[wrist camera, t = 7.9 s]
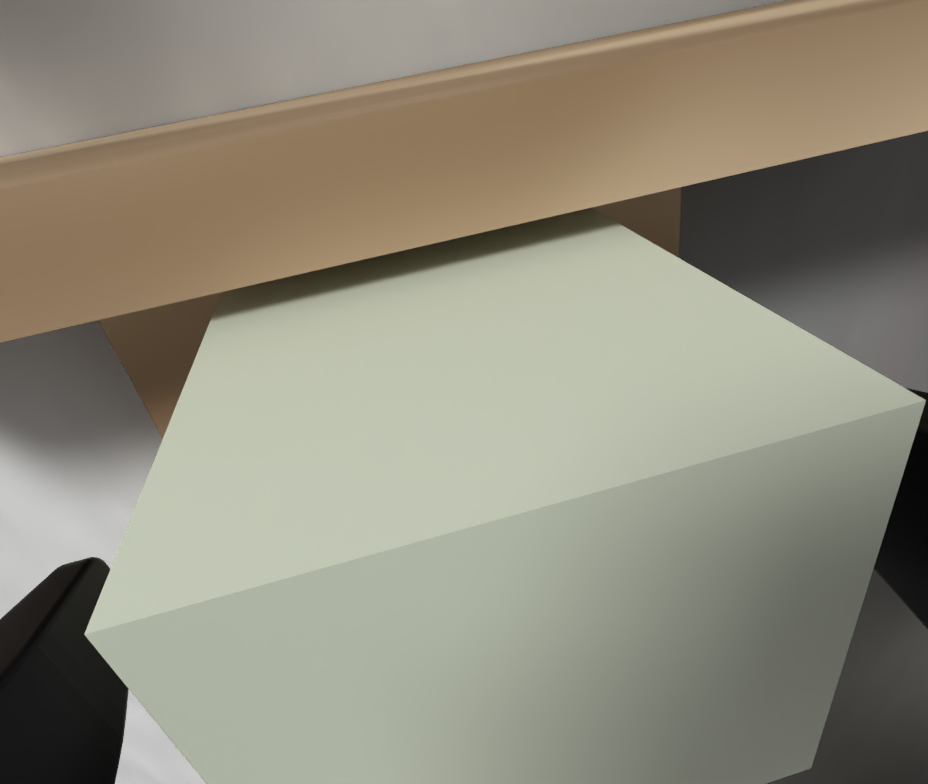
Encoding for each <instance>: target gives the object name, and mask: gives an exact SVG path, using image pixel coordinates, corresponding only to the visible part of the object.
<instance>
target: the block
mask: <svg viewBox="0 0 928 784" xmlns="http://www.w3.org/2000/svg"><path fill="white" fill-rule="evenodd" d="M925 402H926V400H925V399H923V398H921V397H919V396H918V395H916V394H914V393H913V392H911V391H909V390H907V389H906V388H904V387H902V386H900V385H899V384H897V383H895V382H893V381H892V380H890V379H888V378H886V377H885V376H883V375H881V374H880V373H878V372H876V371H874V370H873V369H871V368H869V367H867V366H866V365H864V364H862V363H860V362H859V361H857V360H855V359H853V358H852V357H850V356H848V355H846V354H845V353H843V352H841V351H840V350H838V349H836V348H834V347H833V346H831V345H829V344H827V343H826V342H824V341H822V340H820V339H819V338H817V337H815V336H813V335H812V334H810V333H808V332H807V331H805V330H803V329H801V328H800V327H798V326H796V325H794V324H793V323H791V322H789V321H787V320H786V319H784V318H782V317H780V316H779V315H777V314H775V313H773V312H772V311H770V310H768V309H767V308H765V307H763V306H761V305H760V304H758V303H756V302H754V301H753V300H751V299H749V298H747V297H746V296H744V295H742V294H740V293H739V292H737V291H735V290H734V289H732V288H730V287H728V286H727V285H725V284H723V283H721V282H720V281H718V280H716V279H714V278H713V277H711V276H709V275H707V274H706V273H704V272H702V271H701V270H699V269H697V268H695V267H694V266H692V265H690V264H688V263H687V262H685V261H683V260H681V259H680V258H678V257H676V256H674V255H673V254H671V253H669V252H667V251H666V250H664V249H662V248H661V247H659V246H657V245H655V244H654V243H652V242H650V241H648V240H647V239H645V238H643V237H641V236H640V235H638V234H636V233H634V232H633V231H631V230H629V229H628V228H626V227H624V226H622V225H621V224H619V223H617V222H615V221H614V220H612V219H610V218H608V217H607V216H605V215H603V214H601V213H600V212H598V211H596V210H595V209H593V208H587V209H583V210H578V211H574V212H570V213H565V214H561V215H557V216H552V217H548V218H543V219H539V220H535V221H530V222H526V223H522V224H517V225H513V226H508V227H504V228H500V229H495V230H491V231H487V232H482V233H478V234H473V235H469V236H465V237H460V238H456V239H452V240H447V241H443V242H438V243H434V244H430V245H425V246H421V247H416V248H412V249H408V250H403V251H399V252H395V253H390V254H386V255H381V256H377V257H373V258H368V259H364V260H360V261H355V262H351V263H346V264H342V265H338V266H333V267H329V268H325V269H320V270H316V271H311V272H307V273H303V274H298V275H294V276H290V277H285V278H281V279H276V280H272V281H268V282H263V283H259V284H255V285H250V286H246V287H241V288H237V289H233V290H228V291H224V292H222V293H221V295H220V298H219V300H218V303H217V305H216V308H215V310H214V313H213V315H212V318H211V320H210V323H209V325H208V328H207V330H206V333H205V335H204V338H203V340H202V343H201V345H200V348H199V350H198V352H197V355H196V357H195V360H194V362H193V365H192V367H191V370H190V372H189V375H188V377H187V380H186V382H185V385H184V387H183V390H182V392H181V395H180V397H179V400H178V402H177V405H176V407H175V410H174V412H173V415H172V417H171V420H170V422H169V425H168V427H167V430H166V432H165V435H164V437H163V440H162V442H161V445H160V447H159V450H158V452H157V455H156V457H155V460H154V462H153V464H152V467H151V469H150V472H149V474H148V477H147V479H146V482H145V484H144V487H143V489H142V492H141V494H140V497H139V499H138V502H137V504H136V507H135V509H134V512H133V514H132V517H131V519H130V522H129V524H128V527H127V529H126V532H125V534H124V537H123V539H122V542H121V544H120V547H119V549H118V552H117V554H116V557H115V559H114V562H113V564H112V567H111V569H110V572H109V574H108V576H107V579H106V581H105V584H104V586H103V589H102V591H101V594H100V596H99V599H98V601H97V604H96V606H95V609H94V611H93V614H92V616H91V619H90V621H89V624H88V626H87V629H86V631H85V634H84V635H85V636H86V637H87V639H88V640H89V641H90V642H91V643H92V645H93V646H94V647H95V648H96V650H97V651H98V652H99V653H100V654H101V656H102V657H103V658H104V659H105V661H106V662H107V663H108V664H109V665H110V667H111V668H112V669H113V670H114V672H115V673H116V674H117V675H118V676H119V678H120V679H121V680H122V681H123V683H124V684H125V685H126V686H127V687H128V689H129V690H130V691H131V692H132V694H133V695H134V696H135V697H136V698H137V700H138V701H139V702H140V703H141V705H142V706H143V707H144V708H145V709H146V711H147V712H148V713H149V714H150V716H151V717H152V718H153V719H154V720H155V722H156V723H157V724H158V725H159V727H160V728H161V729H162V730H163V731H164V733H165V734H166V735H167V736H168V738H169V739H170V740H171V741H172V742H173V744H174V745H175V746H176V747H177V749H178V750H179V751H180V752H181V753H182V755H183V756H184V757H185V758H186V760H187V761H188V762H189V763H190V764H191V766H192V767H193V768H194V769H195V771H196V772H197V773H198V774H199V775H200V777H201V778H202V779H203V780H204V782H205V783H206V784H766V783H769V782H772V781H775V780H778V779H781V778H784V777H787V776H790V775H793V774H796V773H799V772H802V771H804V770H807V769H810V768H811V767H812V764H813V761H814V757H815V754H816V751H817V748H818V745H819V741H820V738H821V735H822V732H823V729H824V725H825V722H826V719H827V716H828V713H829V709H830V706H831V703H832V700H833V697H834V693H835V690H836V687H837V684H838V681H839V677H840V674H841V671H842V668H843V665H844V661H845V658H846V655H847V652H848V649H849V645H850V642H851V639H852V636H853V633H854V629H855V626H856V623H857V620H858V617H859V613H860V610H861V607H862V604H863V601H864V597H865V594H866V591H867V588H868V585H869V581H870V578H871V575H872V572H873V569H874V565H875V562H876V559H877V556H878V553H879V549H880V546H881V543H882V540H883V537H884V533H885V530H886V527H887V524H888V521H889V517H890V514H891V511H892V508H893V505H894V501H895V498H896V495H897V492H898V489H899V485H900V482H901V479H902V476H903V473H904V469H905V466H906V463H907V460H908V457H909V453H910V450H911V447H912V444H913V441H914V438H915V434H916V431H917V428H918V425H919V422H920V418H921V415H922V412H923V409H924V406H925Z"/></svg>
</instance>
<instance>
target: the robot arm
mask: <svg viewBox="0 0 928 784" xmlns="http://www.w3.org/2000/svg"><path fill="white" fill-rule="evenodd" d="M906 389H907V390H909V391H911V392H913V393H914V394H916V395H918V396H919V397H921V398H923V399H925V400H926V402H925V406H924V409H923V412H922V415H921V418H920V422H919V425H918V428H917V431H916V434H915V438H914V441H913V444H912V447H911V450H910V453H909V457H908V460H907V463H906V466H905V469H904V473H903V476H902V479H901V482H900V485H899V489H898V492H897V495H896V498H895V501H894V505H893V508H892V511H891V514H890V517H889V521H888V524H887V527H886V530H885V533H884V537H883V540H882V543H881V546H880V549H879V553H878V556H877V559H876V562H875V565H874V569H875V571H876V572H877V573H878V574H879V575H880V576H881V577H882V578H883V580H884V581H885V582H886V583H887V584H888V585H889V586H890V587H891V589H892V590H893V591H894V592H895V593H896V594H897V595H898V596H899V598H900V599H901V600H902V601H903V602H904V603H905V604H906V605H907V607H908V608H909V609H910V610H911V611H912V612H913V613H914V614H915V616H916V617H917V618H918V619H919V620H920V621H921V622H922V623H923V625H924V626H925V627H926V628H927V629H928V393H926V392H921V391H917V390H912V389H908V388H906ZM109 572H110V568H109V567H108V565H107V564H106V563H105V562H104V561H103V560H101V559H100V558H96V557H90V558H86V559H83V560H79V561H75V562H71V563H68V564H65V565H62V566H60V567H58V568H57V569H56V570H54V571H53V572H52V573H51V574H50V575H49V576H48V577H47V578H46V579H44V580H43V581H42V582H41V583H40V584H39V585H38V586H37V587H36V588H34V589H33V590H32V591H31V592H30V593H29V594H28V595H27V596H26V597H24V598H23V599H22V600H21V601H20V602H19V603H18V604H17V605H16V606H14V607H13V608H12V609H11V610H10V611H9V612H8V613H7V614H6V615H4V616H3V617H2V618H1V619H0V784H115V779H116V774H117V769H118V765H119V759H120V754H121V748H122V743H123V736H124V728H125V720H126V710H127V699H128V687H127V686H126V685H125V684H124V683H123V681H122V680H121V679H120V678H119V676H118V675H117V674H116V673H115V672H114V670H113V669H112V668H111V667H110V665H109V664H108V663H107V662H106V661H105V659H104V658H103V657H102V656H101V654H100V653H99V652H98V651H97V650H96V648H95V647H94V646H93V645H92V643H91V642H90V641H89V640H88V639H87V637H86V636H85V635H84V634H85V631H86V629H87V626H88V624H89V621H90V619H91V616H92V614H93V611H94V609H95V606H96V604H97V601H98V599H99V596H100V594H101V591H102V589H103V586H104V584H105V581H106V579H107V576H108V574H109Z"/></svg>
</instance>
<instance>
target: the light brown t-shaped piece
mask: <svg viewBox="0 0 928 784" xmlns="http://www.w3.org/2000/svg"><path fill="white" fill-rule="evenodd" d="M924 131H928V0H789V1H784V2H779V3H774V4H769V5H764V6H759V7H754V8H749V9H744V10H739V11H734V12H729V13H724V14H719V15H714V16H709V17H704V18H699V19H694V20H689V21H684V22H679V23H674V24H669V25H664V26H658V27H653V28H648V29H643V30H638V31H633V32H628V33H623V34H618V35H613V36H608V37H603V38H598V39H593V40H588V41H583V42H578V43H573V44H568V45H563V46H558V47H553V48H548V49H543V50H538V51H533V52H528V53H523V54H518V55H513V56H508V57H503V58H498V59H493V60H488V61H483V62H478V63H473V64H468V65H463V66H458V67H453V68H448V69H443V70H437V71H432V72H427V73H422V74H417V75H412V76H407V77H402V78H397V79H392V80H387V81H382V82H377V83H372V84H367V85H362V86H357V87H352V88H347V89H342V90H337V91H332V92H327V93H322V94H317V95H312V96H307V97H302V98H297V99H292V100H287V101H282V102H277V103H272V104H267V105H262V106H257V107H252V108H247V109H242V110H237V111H232V112H227V113H222V114H216V115H211V116H206V117H201V118H196V119H191V120H186V121H181V122H176V123H171V124H166V125H161V126H156V127H151V128H146V129H141V130H136V131H131V132H126V133H121V134H116V135H111V136H106V137H101V138H96V139H91V140H86V141H81V142H76V143H71V144H66V145H61V146H56V147H51V148H46V149H41V150H36V151H31V152H26V153H21V154H16V155H11V156H6V157H1V158H0V343H1V342H5V341H9V340H14V339H18V338H23V337H27V336H31V335H36V334H40V333H44V332H49V331H53V330H58V329H62V328H66V327H71V326H75V325H79V324H84V323H88V322H93V321H97V320H98V321H99V323H100V324H101V326H102V328H103V330H104V332H105V334H106V335H107V337H108V339H109V341H110V343H111V345H112V346H113V348H114V350H115V352H116V354H117V356H118V357H119V359H120V361H121V363H122V365H123V367H124V368H125V370H126V372H127V374H128V376H129V378H130V379H131V381H132V383H133V385H134V387H135V389H136V390H137V392H138V394H139V396H140V398H141V400H142V401H143V403H144V405H145V407H146V409H147V411H148V412H149V414H150V416H151V418H152V420H153V422H154V423H155V425H156V427H157V429H158V431H159V432H160V434H161V436H162V438H163V437H164V435H165V432H166V430H167V427H168V425H169V422H170V420H171V417H172V415H173V412H174V410H175V407H176V405H177V402H178V400H179V397H180V395H181V392H182V390H183V387H184V385H185V382H186V380H187V377H188V375H189V372H190V370H191V367H192V365H193V362H194V360H195V357H196V355H197V352H198V350H199V348H200V345H201V343H202V340H203V338H204V335H205V333H206V330H207V328H208V325H209V323H210V320H211V318H212V315H213V313H214V310H215V308H216V305H217V303H218V300H219V298H220V295H221V293H222V292H224V291H228V290H233V289H237V288H241V287H246V286H250V285H255V284H259V283H263V282H268V281H272V280H276V279H281V278H285V277H290V276H294V275H298V274H303V273H307V272H311V271H316V270H320V269H325V268H329V267H333V266H338V265H342V264H346V263H351V262H355V261H360V260H364V259H368V258H373V257H377V256H381V255H386V254H390V253H395V252H399V251H403V250H408V249H412V248H416V247H421V246H425V245H430V244H434V243H438V242H443V241H447V240H452V239H456V238H460V237H465V236H469V235H473V234H478V233H482V232H487V231H491V230H495V229H500V228H504V227H508V226H513V225H517V224H522V223H526V222H530V221H535V220H539V219H543V218H548V217H552V216H557V215H561V214H565V213H570V212H574V211H578V210H583V209H587V208H593V209H595V210H596V211H598V212H600V213H601V214H603V215H605V216H607V217H608V218H610V219H612V220H614V221H615V222H617V223H619V224H621V225H622V226H624V227H626V228H628V229H629V230H631V231H633V232H634V233H636V234H638V235H640V236H641V237H643V238H645V239H647V240H648V241H650V242H652V243H654V244H655V245H657V246H659V247H661V248H662V249H664V250H666V251H667V252H669V253H671V254H673V255H674V256H676V257H678V258H679V243H680V215H681V187H684V186H688V185H692V184H697V183H701V182H705V181H710V180H714V179H719V178H723V177H727V176H732V175H736V174H740V173H745V172H749V171H754V170H758V169H762V168H767V167H771V166H775V165H780V164H784V163H789V162H793V161H797V160H802V159H806V158H810V157H815V156H819V155H824V154H828V153H832V152H837V151H841V150H845V149H850V148H854V147H859V146H863V145H867V144H872V143H876V142H880V141H885V140H889V139H894V138H898V137H902V136H907V135H911V134H915V133H920V132H924Z"/></svg>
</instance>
